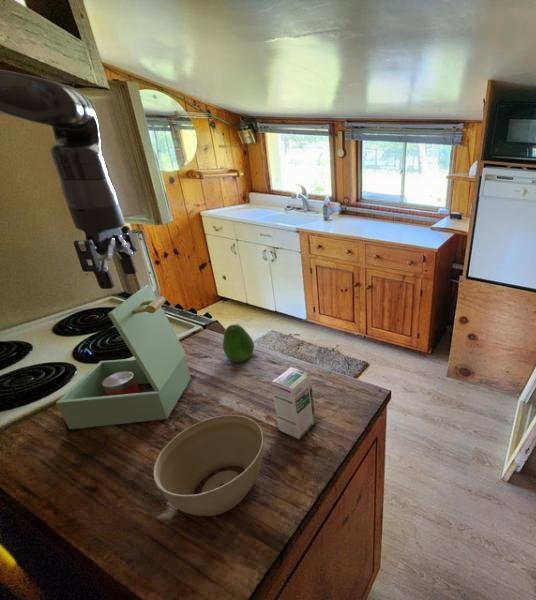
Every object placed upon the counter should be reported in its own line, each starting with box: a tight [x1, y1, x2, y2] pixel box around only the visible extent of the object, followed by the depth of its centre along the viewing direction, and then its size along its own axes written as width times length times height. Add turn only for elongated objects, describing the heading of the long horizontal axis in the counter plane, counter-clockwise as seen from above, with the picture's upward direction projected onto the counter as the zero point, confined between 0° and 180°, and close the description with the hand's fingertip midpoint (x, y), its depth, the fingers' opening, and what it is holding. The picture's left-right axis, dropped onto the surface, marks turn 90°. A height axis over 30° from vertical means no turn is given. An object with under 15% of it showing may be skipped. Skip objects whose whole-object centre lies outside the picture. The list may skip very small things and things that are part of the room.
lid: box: [107, 284, 186, 392], centre depth 72 cm, size 19×15×5 cm
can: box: [102, 371, 141, 396], centre depth 76 cm, size 6×6×7 cm
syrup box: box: [270, 366, 317, 440], centre depth 70 cm, size 6×6×14 cm
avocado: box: [222, 323, 255, 363], centre depth 93 cm, size 8×8×12 cm
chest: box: [55, 354, 192, 430], centre depth 76 cm, size 19×15×8 cm
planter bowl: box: [152, 414, 265, 517], centre depth 57 cm, size 16×16×11 cm
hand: (119, 280), depth 70 cm, fingers open, 8 cm apart
